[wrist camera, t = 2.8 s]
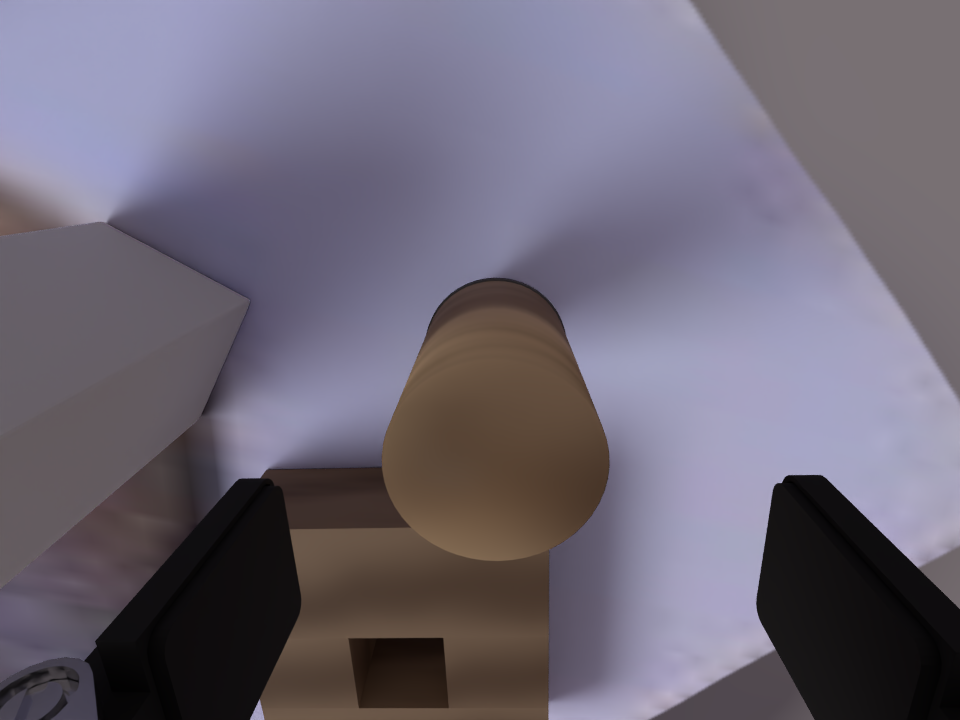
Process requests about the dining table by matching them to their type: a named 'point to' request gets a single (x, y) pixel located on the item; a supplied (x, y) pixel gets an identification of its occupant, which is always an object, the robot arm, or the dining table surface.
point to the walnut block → (402, 615)
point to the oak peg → (495, 429)
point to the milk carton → (95, 372)
